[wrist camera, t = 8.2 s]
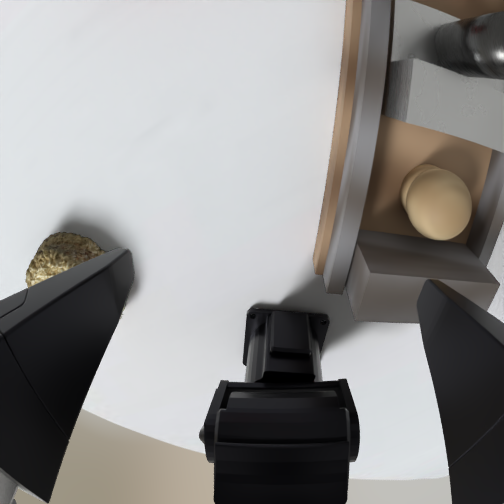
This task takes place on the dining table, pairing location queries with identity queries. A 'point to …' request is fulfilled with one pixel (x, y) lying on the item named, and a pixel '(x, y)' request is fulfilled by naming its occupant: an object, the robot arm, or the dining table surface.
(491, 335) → the robot arm
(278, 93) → the dining table surface
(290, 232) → the dining table surface
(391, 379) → the dining table surface
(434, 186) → the tan rounded piece
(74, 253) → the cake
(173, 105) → the dining table surface
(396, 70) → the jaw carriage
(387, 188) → the press base
